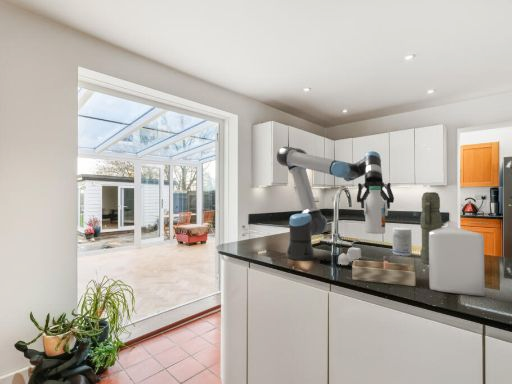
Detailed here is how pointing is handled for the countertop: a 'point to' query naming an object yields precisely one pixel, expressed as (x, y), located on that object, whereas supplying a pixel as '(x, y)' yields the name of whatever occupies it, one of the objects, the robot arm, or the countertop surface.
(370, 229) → the milk bottle
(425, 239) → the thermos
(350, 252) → the container set
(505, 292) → the countertop surface
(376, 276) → the wooden box
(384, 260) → the pusher
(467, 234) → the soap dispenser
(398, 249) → the supplement tub
